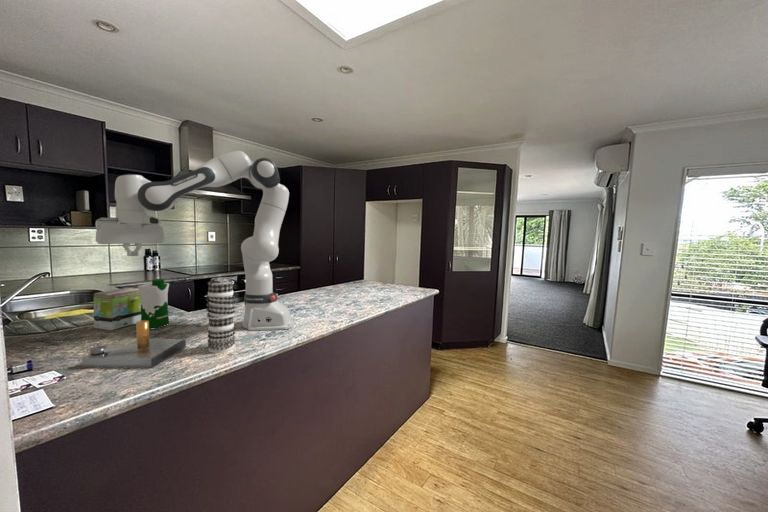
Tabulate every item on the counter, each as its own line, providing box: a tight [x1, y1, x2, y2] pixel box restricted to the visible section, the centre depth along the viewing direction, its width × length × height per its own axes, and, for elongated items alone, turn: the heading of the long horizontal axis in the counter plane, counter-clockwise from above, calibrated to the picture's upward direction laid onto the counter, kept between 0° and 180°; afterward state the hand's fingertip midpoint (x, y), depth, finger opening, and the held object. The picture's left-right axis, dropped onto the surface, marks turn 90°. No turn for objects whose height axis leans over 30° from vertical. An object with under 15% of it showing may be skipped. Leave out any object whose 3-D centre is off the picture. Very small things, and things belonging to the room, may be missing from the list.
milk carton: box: [137, 278, 170, 330], centre depth 129 cm, size 9×9×20 cm
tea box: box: [93, 287, 141, 331], centre depth 131 cm, size 15×10×15 cm, turn 168°
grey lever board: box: [81, 338, 187, 369], centre depth 100 cm, size 21×16×3 cm
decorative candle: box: [205, 276, 236, 354], centre depth 108 cm, size 9×9×25 cm
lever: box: [89, 320, 151, 355], centre depth 95 cm, size 14×4×8 cm, turn 117°
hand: (132, 255), depth 115 cm, fingers closed
